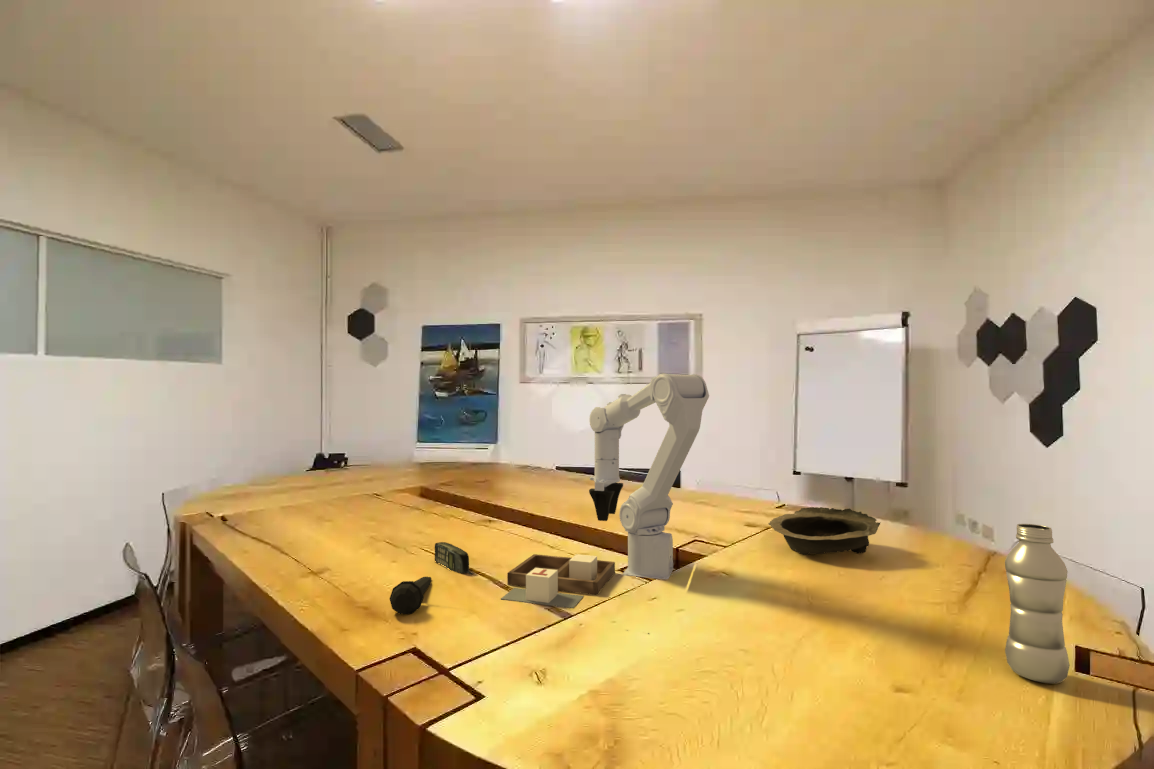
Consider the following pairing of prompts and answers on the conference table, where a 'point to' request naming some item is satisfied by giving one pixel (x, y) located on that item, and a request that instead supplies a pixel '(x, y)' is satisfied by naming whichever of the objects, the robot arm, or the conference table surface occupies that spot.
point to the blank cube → (583, 567)
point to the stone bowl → (826, 530)
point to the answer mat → (558, 601)
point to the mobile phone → (452, 557)
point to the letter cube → (541, 585)
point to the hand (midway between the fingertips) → (606, 517)
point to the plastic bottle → (1036, 607)
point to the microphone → (409, 595)
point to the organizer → (562, 574)
